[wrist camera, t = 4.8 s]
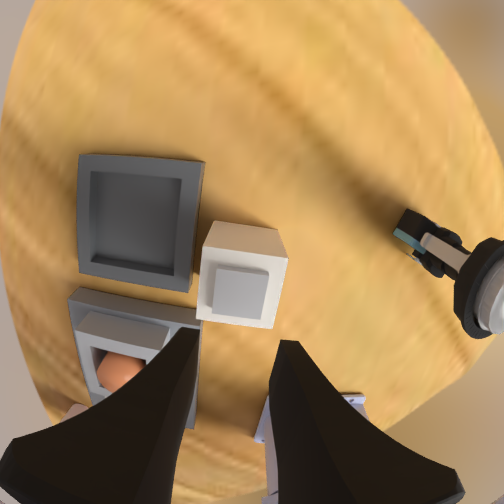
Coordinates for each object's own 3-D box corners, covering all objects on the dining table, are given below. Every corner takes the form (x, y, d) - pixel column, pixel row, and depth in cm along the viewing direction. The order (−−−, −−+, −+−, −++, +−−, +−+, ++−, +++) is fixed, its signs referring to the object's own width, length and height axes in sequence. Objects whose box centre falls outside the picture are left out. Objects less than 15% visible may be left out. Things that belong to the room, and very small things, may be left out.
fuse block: (277, 229, 18) (290, 262, 13) (266, 286, 20) (273, 334, 14) (214, 220, 18) (201, 249, 13) (207, 278, 19) (194, 324, 14)
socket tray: (205, 162, 17) (201, 163, 15) (191, 283, 19) (188, 292, 18) (89, 153, 16) (79, 154, 15) (88, 265, 19) (79, 272, 17)
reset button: (147, 345, 18) (135, 371, 16) (149, 375, 19) (140, 400, 17) (108, 336, 18) (93, 359, 15) (112, 366, 19) (100, 390, 16)
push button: (463, 232, 18) (552, 284, 9) (430, 288, 20) (505, 362, 11) (411, 187, 17) (520, 227, 8) (374, 252, 19) (458, 334, 9)
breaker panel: (203, 310, 20) (194, 350, 16) (196, 413, 24) (190, 450, 20) (79, 286, 19) (50, 316, 15) (99, 391, 23) (84, 423, 19)
